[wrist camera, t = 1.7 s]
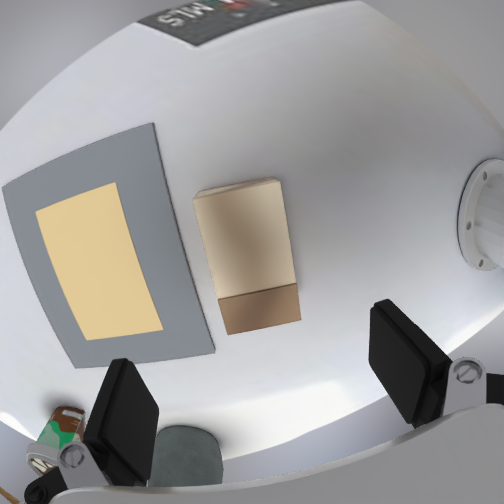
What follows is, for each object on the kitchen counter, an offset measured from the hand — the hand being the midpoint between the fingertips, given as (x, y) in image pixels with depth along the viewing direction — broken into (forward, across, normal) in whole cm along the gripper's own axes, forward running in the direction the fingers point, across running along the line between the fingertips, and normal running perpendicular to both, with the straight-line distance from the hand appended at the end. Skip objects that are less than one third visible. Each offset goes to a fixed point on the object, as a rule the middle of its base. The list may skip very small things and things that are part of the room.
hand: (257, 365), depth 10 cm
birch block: (+14, -1, 0) cm, 14 cm away
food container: (+14, +29, +19) cm, 38 cm away
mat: (+14, +12, -1) cm, 18 cm away
